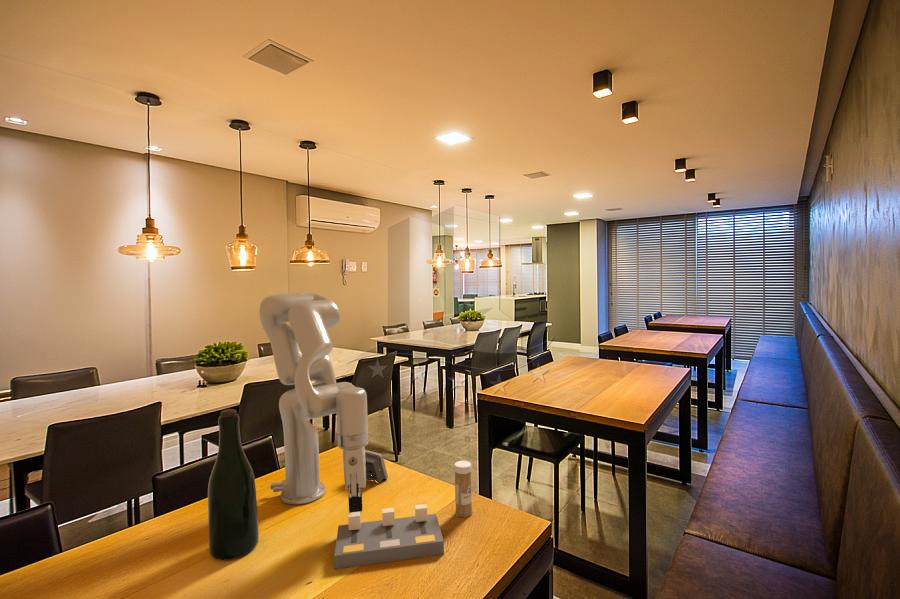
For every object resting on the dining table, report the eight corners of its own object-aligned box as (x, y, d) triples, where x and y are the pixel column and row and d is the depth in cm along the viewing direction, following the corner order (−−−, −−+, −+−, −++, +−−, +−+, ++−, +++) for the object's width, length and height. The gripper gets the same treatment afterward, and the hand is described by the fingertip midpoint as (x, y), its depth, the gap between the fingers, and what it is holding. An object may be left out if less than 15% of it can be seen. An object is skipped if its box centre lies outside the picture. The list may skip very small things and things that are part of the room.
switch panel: (334, 569, 94) (334, 555, 94) (338, 537, 106) (338, 525, 106) (444, 554, 98) (443, 540, 98) (436, 525, 110) (436, 513, 110)
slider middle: (382, 526, 104) (382, 513, 104) (382, 521, 106) (382, 508, 106) (394, 524, 104) (394, 511, 104) (394, 520, 106) (393, 507, 106)
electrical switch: (388, 479, 136) (385, 451, 135) (377, 488, 132) (374, 459, 131) (367, 473, 142) (364, 446, 140) (355, 481, 137) (352, 453, 136)
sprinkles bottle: (470, 519, 112) (468, 468, 112) (453, 516, 114) (451, 466, 113) (474, 510, 117) (473, 460, 116) (458, 507, 118) (456, 459, 118)
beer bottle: (204, 566, 96) (196, 419, 95) (215, 539, 106) (209, 406, 105) (255, 557, 99) (248, 414, 98) (262, 532, 109) (256, 402, 108)
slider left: (348, 530, 103) (348, 517, 102) (349, 525, 104) (348, 512, 104) (360, 529, 103) (360, 515, 103) (360, 524, 105) (360, 511, 105)
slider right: (416, 522, 105) (415, 509, 105) (415, 517, 107) (414, 505, 107) (427, 520, 106) (427, 507, 106) (426, 516, 108) (426, 503, 108)
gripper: (368, 447, 101) (371, 524, 102) (368, 427, 116) (370, 494, 116) (335, 450, 100) (338, 529, 100) (339, 429, 114) (342, 498, 115)
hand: (355, 510), depth 108 cm, fingers closed
